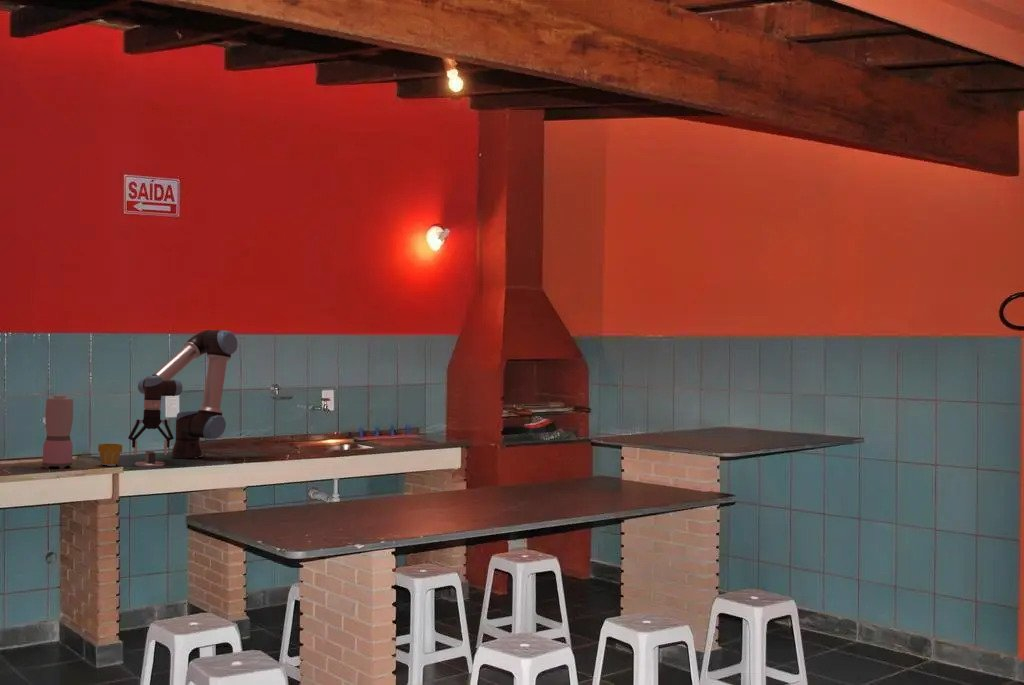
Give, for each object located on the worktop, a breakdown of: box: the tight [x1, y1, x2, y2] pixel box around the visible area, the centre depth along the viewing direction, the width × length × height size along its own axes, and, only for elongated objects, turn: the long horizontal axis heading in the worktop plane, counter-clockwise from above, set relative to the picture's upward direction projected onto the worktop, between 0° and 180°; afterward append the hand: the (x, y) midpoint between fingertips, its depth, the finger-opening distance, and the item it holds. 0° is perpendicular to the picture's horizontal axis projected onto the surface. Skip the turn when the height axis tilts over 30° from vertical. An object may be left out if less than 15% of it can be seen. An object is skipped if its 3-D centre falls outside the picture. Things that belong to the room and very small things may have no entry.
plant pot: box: [97, 443, 123, 465], centre depth 494 cm, size 10×10×10 cm
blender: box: [41, 394, 74, 470], centre depth 482 cm, size 16×12×32 cm
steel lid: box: [134, 450, 166, 467], centre depth 504 cm, size 13×13×6 cm
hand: (150, 454), depth 504 cm, fingers open, 13 cm apart
